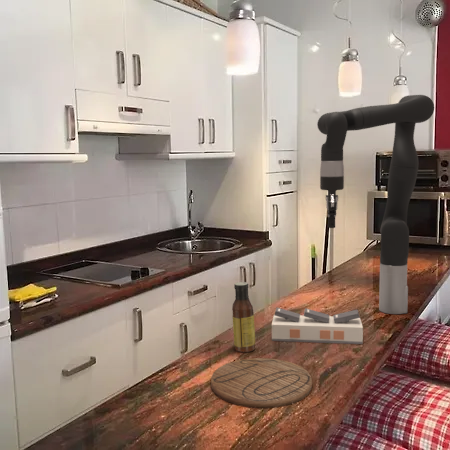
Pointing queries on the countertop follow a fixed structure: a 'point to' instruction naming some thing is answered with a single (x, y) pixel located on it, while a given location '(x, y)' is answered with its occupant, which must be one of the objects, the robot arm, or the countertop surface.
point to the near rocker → (346, 316)
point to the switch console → (317, 330)
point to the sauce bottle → (243, 319)
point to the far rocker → (287, 314)
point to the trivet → (261, 382)
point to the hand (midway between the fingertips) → (331, 227)
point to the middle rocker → (316, 315)
